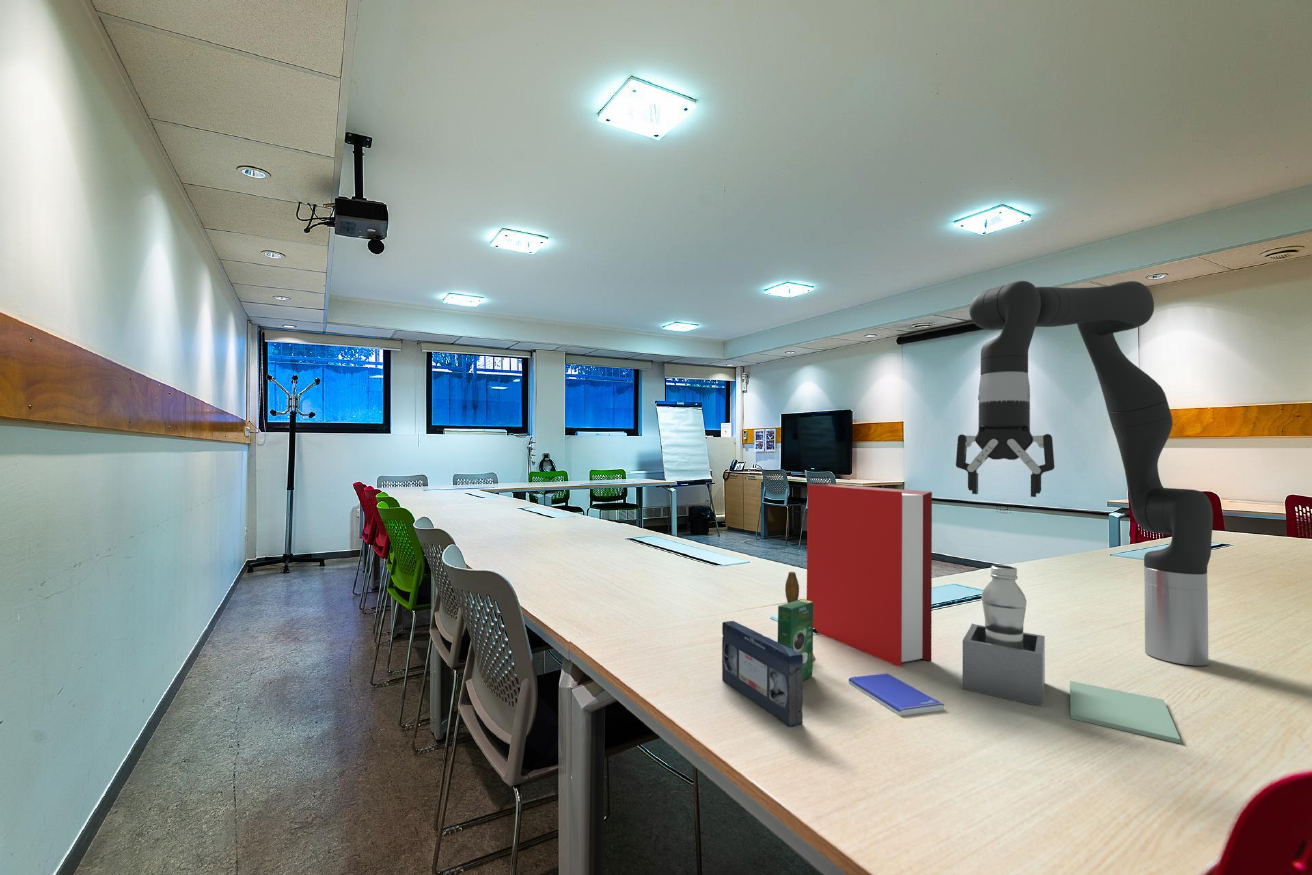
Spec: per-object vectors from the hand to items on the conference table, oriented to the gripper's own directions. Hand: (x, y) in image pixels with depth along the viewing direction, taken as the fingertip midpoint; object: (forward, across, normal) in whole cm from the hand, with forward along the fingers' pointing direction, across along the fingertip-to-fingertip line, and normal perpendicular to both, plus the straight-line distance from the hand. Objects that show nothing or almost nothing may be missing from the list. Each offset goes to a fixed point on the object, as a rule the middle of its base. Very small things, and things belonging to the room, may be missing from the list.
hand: (1003, 495), depth 97 cm
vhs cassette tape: (+33, +30, +31) cm, 54 cm away
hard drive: (+33, +14, +16) cm, 39 cm away
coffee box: (+33, +29, +20) cm, 48 cm away
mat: (+32, -15, -1) cm, 36 cm away
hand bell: (+33, +34, +9) cm, 48 cm away
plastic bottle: (+32, 0, 0) cm, 32 cm away
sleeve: (+32, 0, 0) cm, 32 cm away
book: (+32, +26, -8) cm, 42 cm away
